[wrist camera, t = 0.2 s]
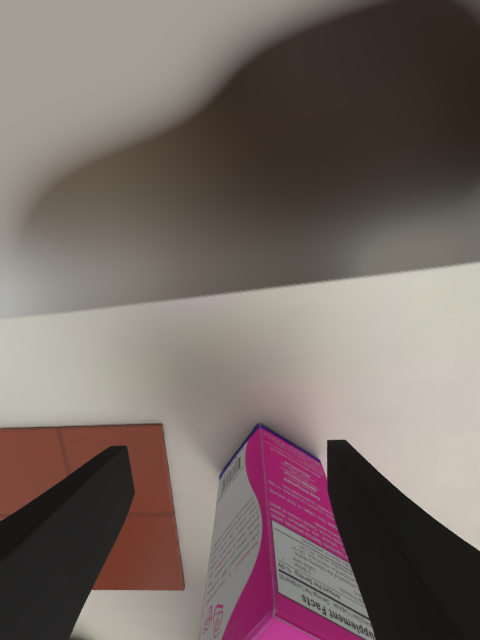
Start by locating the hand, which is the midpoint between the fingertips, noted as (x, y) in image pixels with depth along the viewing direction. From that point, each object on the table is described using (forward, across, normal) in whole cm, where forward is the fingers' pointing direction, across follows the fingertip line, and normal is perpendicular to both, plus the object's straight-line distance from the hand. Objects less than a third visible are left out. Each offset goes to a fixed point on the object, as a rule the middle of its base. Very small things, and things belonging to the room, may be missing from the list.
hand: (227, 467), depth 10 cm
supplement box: (+10, -2, +8) cm, 13 cm away
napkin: (+10, +14, +12) cm, 22 cm away
